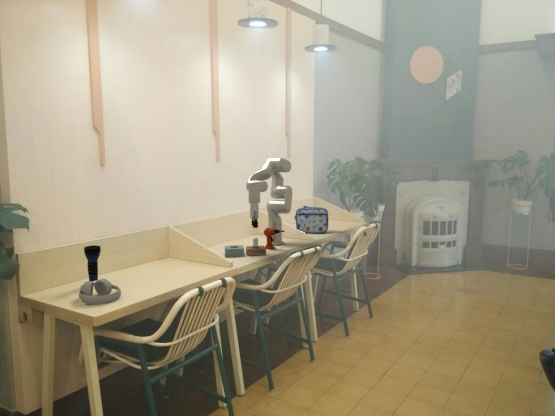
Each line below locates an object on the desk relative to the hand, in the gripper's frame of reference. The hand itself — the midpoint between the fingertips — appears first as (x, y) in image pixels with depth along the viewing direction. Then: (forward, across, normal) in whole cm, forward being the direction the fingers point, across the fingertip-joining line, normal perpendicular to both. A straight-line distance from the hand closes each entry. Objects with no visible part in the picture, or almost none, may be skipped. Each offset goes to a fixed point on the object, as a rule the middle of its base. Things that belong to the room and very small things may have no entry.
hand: (254, 226), depth 324 cm
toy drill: (+18, -12, +14) cm, 26 cm away
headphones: (+21, +83, -81) cm, 118 cm away
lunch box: (+16, -70, +52) cm, 89 cm away
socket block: (+18, -1, 0) cm, 18 cm away
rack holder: (+18, -1, -14) cm, 23 cm away
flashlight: (+20, +57, -88) cm, 107 cm away
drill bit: (+18, -1, 0) cm, 18 cm away
